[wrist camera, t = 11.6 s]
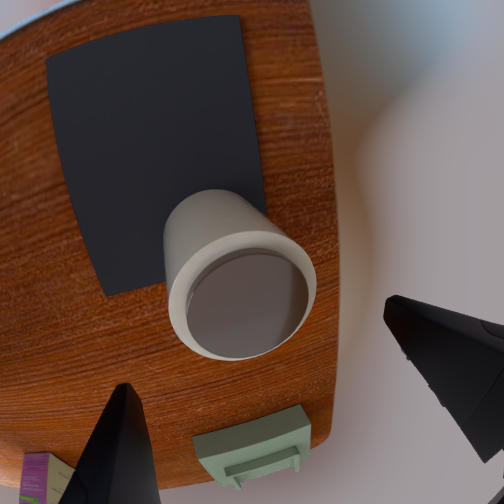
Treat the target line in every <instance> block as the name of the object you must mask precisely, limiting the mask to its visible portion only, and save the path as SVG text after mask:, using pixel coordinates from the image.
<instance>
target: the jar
mask: <svg viewBox="0 0 504 504" xmlns="http://www.w3.org/2000/svg"><path fill="white" fill-rule="evenodd" d="M163 251H164V265H165V277H166V288H167V299H168V308H169V317H170V320H171V324H172V326H173V328H174V330H175V332H176V334H177V335H178V337H179V338H180V339H181V340H182V341H183V342H184V344H185V345H187V346H188V347H189V348H190V349H192V350H193V351H195V352H197V353H199V354H201V355H203V356H206V357H209V358H213V359H217V360H228V361H234V360H243V359H249V358H253V357H256V356H259V355H262V354H265V353H267V352H269V351H271V350H273V349H275V348H276V347H278V346H280V345H281V344H282V343H284V342H285V341H287V340H288V339H289V338H290V337H291V336H292V335H293V334H294V333H295V332H296V331H297V330H298V329H299V328H300V327H301V325H302V324H303V323H304V321H305V319H306V318H307V316H308V314H309V312H310V310H311V308H312V305H313V302H314V299H315V294H316V274H315V270H314V267H313V264H312V262H311V260H310V258H309V257H308V255H307V253H306V252H305V251H304V250H303V249H302V248H301V247H300V246H299V245H298V244H297V243H296V242H295V241H294V240H292V239H291V238H290V237H289V236H288V235H287V234H286V233H284V232H283V231H282V230H281V229H280V228H279V227H278V226H276V225H275V224H274V223H273V222H272V221H271V220H269V219H268V218H267V217H266V216H265V215H264V214H262V213H261V212H260V211H259V210H258V209H257V208H255V207H254V206H253V205H252V204H251V203H249V202H248V201H247V200H246V199H244V198H243V197H242V196H240V195H238V194H236V193H233V192H231V191H227V190H220V189H211V190H205V191H201V192H198V193H195V194H193V195H191V196H189V197H188V198H186V199H184V200H183V201H182V202H181V203H180V204H179V205H178V206H177V207H176V208H175V209H174V210H173V211H172V213H171V214H170V216H169V218H168V220H167V222H166V225H165V228H164V233H163Z"/></svg>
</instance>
